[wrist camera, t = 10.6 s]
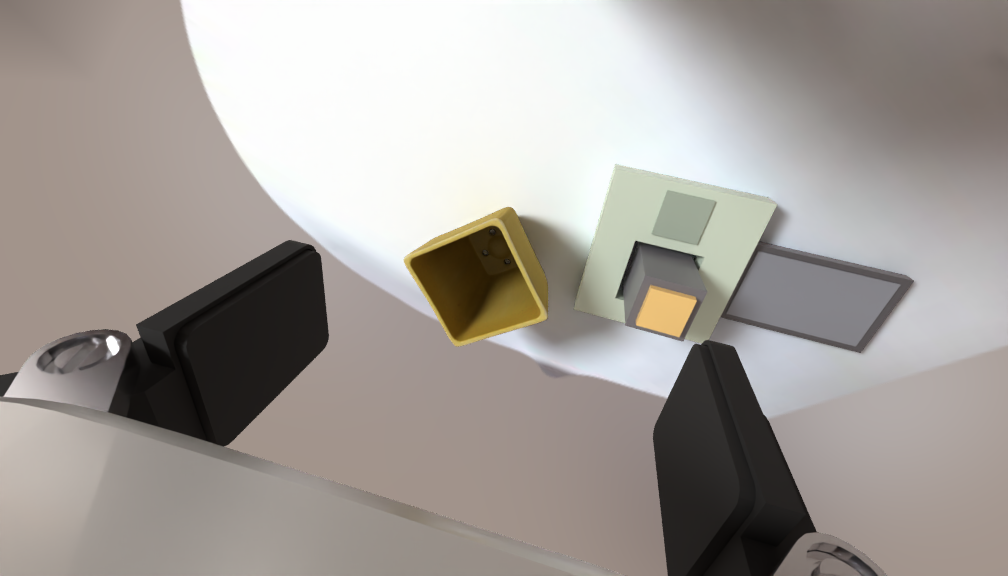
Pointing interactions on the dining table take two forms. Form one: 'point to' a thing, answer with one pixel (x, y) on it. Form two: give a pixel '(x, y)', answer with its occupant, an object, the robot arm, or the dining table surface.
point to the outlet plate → (672, 239)
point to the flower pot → (482, 278)
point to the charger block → (662, 291)
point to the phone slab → (814, 296)
